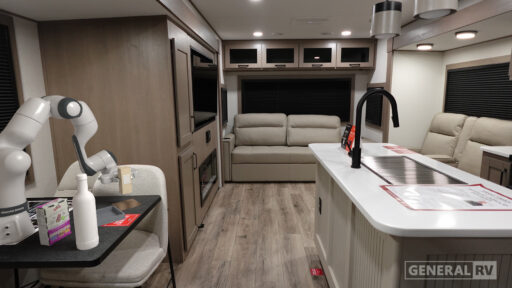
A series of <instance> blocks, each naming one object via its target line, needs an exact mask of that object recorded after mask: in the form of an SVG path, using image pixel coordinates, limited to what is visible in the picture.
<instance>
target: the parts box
mask: <svg viewBox="0 0 512 288" xmlns="http://www.w3.org/2000/svg"><path fill="white" fill-rule="evenodd" d="M130 167H131V166H127V165H125V166H124V165H123V166H118V168H117V169H118V178H120V179H121V180H120V181H121V182H118V190H119V193H120V194H122V195H126V194H131V193H133V183H132V180H131V168H132V167H131V168H130Z"/></svg>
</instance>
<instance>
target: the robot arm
mask: <svg viewBox="0 0 512 288" xmlns="http://www.w3.org/2000/svg"><path fill="white" fill-rule="evenodd" d="M49 118H54V119H58V120H70V122H71V124H72V126H73V135H72V136H71V142H72V145H73V148H74V152H75V154H76V155H75V156H76V157H77V160H78V161H77V162H78V166H79V170H80V172H81V174H86V175H87V177H93V176H95V175H96V174H98V173H99V172H100V173H101V175H100V176H99V177H97V180H98V181H100V183H101V184H102V185H108V184H111V183H119V182H121V181H120V180H121V179H120V178H118V169H117V168H118V167H119V166H118V159H117V157H116V156H115V154H114V153H113V152H112V151H110V150H108V149H103V150H101V151H99V152H97V153H95V154H94V155H91V156H89V157H88V156H87V153H86V150H85V146H86V144H87V143H88V141H90V139H91V138H92V137H94V136H95V134H96V133H97V131H98V127H99V124H98V122H97V119H96V117H95V115H94V113H93V111H92V110H91V108H90V107H89V106H88V105H87V103H86V102H84V101H83V100H78V99H76V98H72V97H70V96H63V95H53V94H52V95H49V94H48V95H43V96H41V97H37V96H32V97H29V98H27V99H26V100H25V101H24V102H23V103H22V104H21V105H20V107H19V108H18V109H17V110H16V112H15V113H14V114H13V116H12V118H11V119H10V120H9V122H8V123H7V125H6V126H5V128H4V129H3V130H1V132H0V246H2V245H7V244H12V243H17V242H20V241H21V240H22V239H24V238H25V237H27V236H30V235H31V234H32V233H34V232H35V230H36V227H34V225H33V222H32V220H31V217H30V216H31V215H30V206H29V201H28V199H27V195H26V187H25V184H26V182H25V180H26V175H27V171H28V170H29V168H30V166H32V165H31V164H32V159H31V156H30V154H28V153H27V152H26V151H24V149H25V148H26V147H27V146H28V145H30V144H31V143H33V142H34V141H35V139H36V138H37V136H38V135H39V133H40V132H41V131H42V129H43V127H44V125H45V124H46V122H47V120H48V119H49ZM129 167H130V168H131V181H132V180H133V179H137V178H139V177H140V170H138V169H137V168H133V167H132V166H129Z"/></svg>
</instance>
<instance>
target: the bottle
mask: <svg viewBox="0 0 512 288" xmlns="http://www.w3.org/2000/svg"><path fill="white" fill-rule="evenodd" d="M75 181H76V191H77V192H76V193H75V194H74V196H73V197H72V200H71V204H72V213H73V223H74V232H75V244H76V249H77V250H80V251H87V250H91V249H94V248H95V247H97V246H98V245H99V243H100V242H99V239H100V238H99V231H98V227H97V217H96V210H97V208H96V206H97V205H96V198H95V196H94V194H93V192H91V191H90V190H88V189H89V187H88V176H87V175H86V174H83V173H78V174H76V175H75Z"/></svg>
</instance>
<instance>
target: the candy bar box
mask: <svg viewBox="0 0 512 288" xmlns="http://www.w3.org/2000/svg"><path fill="white" fill-rule="evenodd" d="M34 209H35V215H36V222H37V228H38V229H37V230H38V235H39V242H40V245H41V246H48V247H50V246H52V245H54V244H56V243H58V242H59V241H61V240H62V239H63V238H66V237H67V236H69V235H70V234H72V232H73V231H72V225H71V218H70V210H69V202H68V198H61V197H58V198H56V199H55V198H54V199H53V200H51V201H49V202H46V203H44V204H43V203H42V204H41V205H38V206H37V207H35V208H34Z"/></svg>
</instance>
